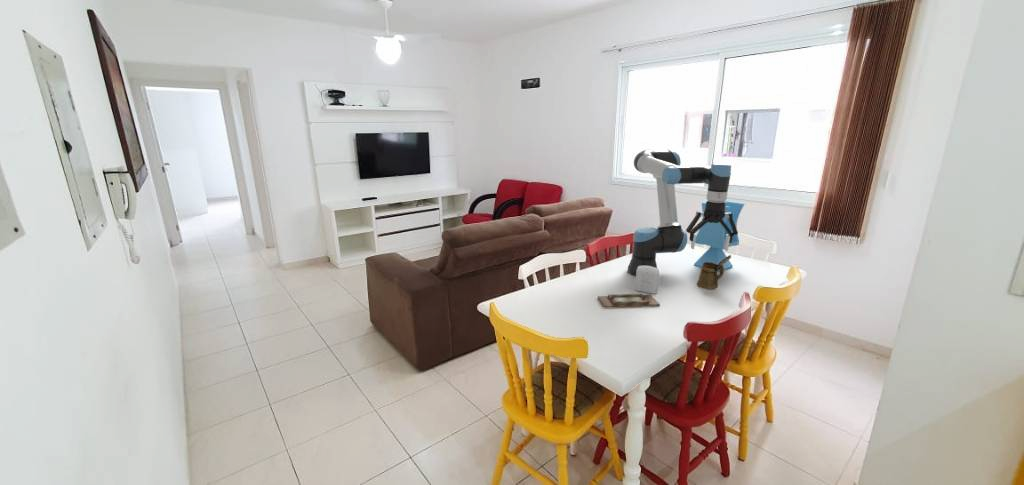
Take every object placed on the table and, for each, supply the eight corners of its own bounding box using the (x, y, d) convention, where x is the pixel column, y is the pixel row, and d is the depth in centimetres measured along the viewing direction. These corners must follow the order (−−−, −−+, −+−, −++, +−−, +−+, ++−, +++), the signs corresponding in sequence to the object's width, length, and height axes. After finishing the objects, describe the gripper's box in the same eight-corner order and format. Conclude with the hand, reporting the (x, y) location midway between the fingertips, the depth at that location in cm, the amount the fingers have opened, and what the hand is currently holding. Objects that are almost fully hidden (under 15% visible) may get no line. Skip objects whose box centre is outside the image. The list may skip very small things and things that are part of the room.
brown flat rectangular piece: (604, 308, 170) (604, 301, 170) (597, 298, 180) (598, 292, 179) (659, 306, 171) (660, 300, 171) (650, 296, 181) (651, 290, 180)
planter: (718, 273, 208) (728, 207, 199) (691, 265, 221) (699, 202, 211) (735, 267, 217) (744, 203, 207) (707, 260, 229) (715, 199, 219)
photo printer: (658, 291, 186) (660, 266, 183) (656, 295, 183) (659, 269, 179) (635, 287, 191) (637, 263, 188) (633, 290, 188) (635, 265, 184)
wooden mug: (720, 294, 183) (726, 256, 178) (692, 285, 193) (697, 249, 188) (730, 290, 188) (736, 253, 183) (703, 281, 198) (707, 246, 193)
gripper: (686, 201, 167) (680, 250, 173) (751, 203, 163) (743, 253, 169) (682, 198, 174) (676, 245, 180) (745, 200, 170) (737, 247, 176)
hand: (709, 249), depth 175 cm, fingers open, 13 cm apart
